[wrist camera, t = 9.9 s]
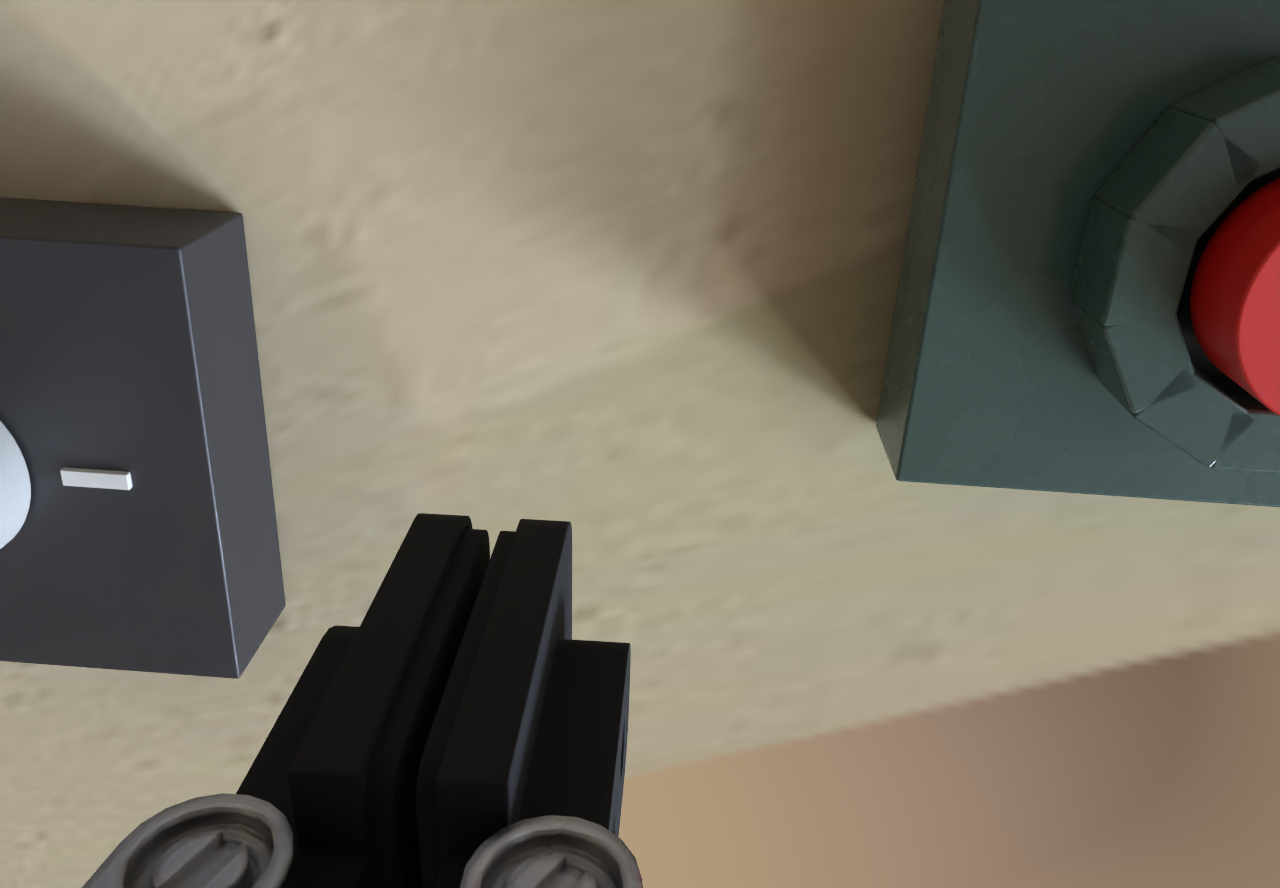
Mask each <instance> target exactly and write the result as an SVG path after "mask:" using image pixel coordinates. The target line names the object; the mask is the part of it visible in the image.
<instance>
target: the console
mask: <svg viewBox="0 0 1280 888" xmlns="http://www.w3.org/2000/svg"><path fill="white" fill-rule="evenodd" d="M1279 177H1280V0H945V3H944V9H943V16H942V22H941V28H940V34H939V40H938V47H937V53H936V59H935V65H934V71H933V77H932V84H931V90H930V96H929V102H928V108H927V115H926V121H925V127H924V133H923V139H922V146H921V152H920V158H919V164H918V170H917V177H916V183H915V189H914V195H913V201H912V207H911V214H910V220H909V226H908V232H907V238H906V245H905V251H904V257H903V263H902V269H901V276H900V282H899V288H898V294H897V300H896V306H895V313H894V319H893V325H892V331H891V337H890V344H889V350H888V356H887V362H886V368H885V375H884V381H883V387H882V393H881V399H880V406H879V412H878V418H877V424H876V427H877V430H878V433H879V435H880V438H881V441H882V443H883V446H884V449H885V451H886V454H887V457H888V459H889V462H890V464H891V467H892V470H893V472H894V475H895V478H896V480H898V481H909V482H923V483H938V484H952V485H967V486H981V487H996V488H1010V489H1025V490H1039V491H1054V492H1068V493H1083V494H1097V495H1112V496H1127V497H1141V498H1156V499H1170V500H1185V501H1199V502H1214V503H1228V504H1243V505H1257V506H1272V507H1280V416H1279V415H1277V414H1276V413H1274V412H1272V411H1271V410H1270V409H1268V408H1267V407H1266V406H1264V405H1263V404H1262V403H1261V402H1259V401H1258V400H1257V399H1256V398H1254V397H1253V396H1252V395H1251V394H1249V393H1248V392H1247V391H1246V390H1244V389H1243V388H1242V387H1240V386H1239V385H1238V384H1237V383H1235V382H1234V381H1233V380H1232V379H1230V378H1229V377H1228V376H1227V375H1225V374H1224V373H1223V372H1222V371H1220V370H1219V369H1218V368H1217V367H1216V366H1215V365H1214V364H1213V363H1212V362H1211V361H1210V360H1209V358H1208V357H1207V356H1206V355H1205V353H1204V351H1203V350H1202V348H1201V347H1200V345H1199V343H1198V340H1197V338H1196V335H1195V333H1194V329H1193V325H1192V321H1191V311H1190V297H1191V287H1192V282H1193V278H1194V273H1195V270H1196V268H1197V265H1198V262H1199V259H1200V257H1201V255H1202V253H1203V251H1204V249H1205V247H1206V245H1207V243H1208V242H1209V240H1210V238H1211V237H1212V235H1213V234H1214V232H1215V231H1216V229H1217V228H1218V227H1219V226H1220V224H1221V223H1222V222H1223V221H1224V220H1225V218H1226V217H1227V216H1228V215H1229V214H1230V213H1231V212H1232V211H1233V210H1234V209H1235V208H1236V207H1237V206H1238V205H1239V204H1240V203H1241V202H1243V201H1244V200H1245V199H1246V198H1248V197H1249V196H1250V195H1251V194H1253V193H1254V192H1255V191H1257V190H1258V189H1260V188H1261V187H1263V186H1265V185H1266V184H1268V183H1269V182H1271V181H1273V180H1275V179H1277V178H1279Z"/></svg>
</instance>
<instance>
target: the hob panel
mask: <svg viewBox="0 0 1280 888" xmlns="http://www.w3.org/2000/svg"><path fill="white" fill-rule="evenodd" d="M0 421H1V422H2V423H3V424H4V425H5V427H6V428H7V429H8V431H9V432H10V433H11V435H12V436H13V438H14V439H15V441H16V443H17V445H18V446H19V448H20V450H21V452H22V455H23V457H24V459H25V462H26V465H27V468H28V472H29V477H30V484H31V500H30V506H29V511H28V514H27V517H26V519H25V522H24V524H23V525H22V527H21V529H20V531H19V532H18V533H17V534H16V535H15V537H14V538H13V539H12V540H11V541H9V542H8V543H7V544H6V545H5V546H4V547H2V548H1V549H0V661H9V662H22V663H36V664H49V665H62V666H76V667H89V668H103V669H116V670H129V671H143V672H156V673H170V674H183V675H196V676H210V677H223V678H239V677H240V676H241V674H242V673H243V671H244V670H245V668H246V667H247V665H248V664H249V662H250V660H251V659H252V657H253V656H254V654H255V653H256V651H257V649H258V648H259V646H260V645H261V643H262V642H263V640H264V638H265V637H266V635H267V634H268V632H269V631H270V629H271V628H272V626H273V624H274V623H275V621H276V620H277V618H278V617H279V615H280V613H281V612H282V610H283V609H284V607H285V597H284V588H283V579H282V570H281V561H280V552H279V543H278V534H277V525H276V516H275V506H274V497H273V488H272V479H271V470H270V461H269V452H268V443H267V434H266V425H265V416H264V407H263V398H262V389H261V379H260V370H259V361H258V352H257V343H256V334H255V325H254V316H253V307H252V298H251V289H250V280H249V271H248V262H247V252H246V243H245V234H244V225H243V216H242V214H241V213H235V212H219V211H203V210H188V209H172V208H156V207H141V206H125V205H109V204H93V203H78V202H62V201H46V200H30V199H15V198H0Z"/></svg>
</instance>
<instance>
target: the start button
mask: <svg viewBox="0 0 1280 888" xmlns="http://www.w3.org/2000/svg"><path fill="white" fill-rule="evenodd" d="M1190 311H1191V321H1192V325H1193V329H1194V333H1195V335H1196V338H1197V340H1198V343H1199V345H1200V347H1201V348H1202V350H1203V351H1204V353H1205V355H1206V356H1207V357H1208V358H1209V360H1210V361H1211V362H1212V363H1213V364H1214V365H1215V366H1216V367H1217V368H1218V369H1219V370H1220V371H1222V372H1223V373H1224V374H1225V375H1227V376H1228V377H1229V378H1230V379H1232V380H1233V381H1234V382H1235V383H1237V384H1238V385H1239V386H1240V387H1242V388H1243V389H1244V390H1246V391H1247V392H1248V393H1249V394H1251V395H1252V396H1253V397H1254V398H1256V399H1257V400H1258V401H1259V402H1261V403H1262V404H1263V405H1264V406H1266V407H1267V408H1268V409H1270V410H1271V411H1272V412H1274V413H1276V414H1277V415H1279V416H1280V177H1279V178H1277V179H1275V180H1273V181H1271V182H1269V183H1268V184H1266V185H1265V186H1263V187H1261V188H1260V189H1258V190H1257V191H1255V192H1254V193H1253V194H1251V195H1250V196H1249V197H1248V198H1246V199H1245V200H1244V201H1243V202H1241V203H1240V204H1239V205H1238V206H1237V207H1236V208H1235V209H1234V210H1233V211H1232V212H1231V213H1230V214H1229V215H1228V216H1227V217H1226V218H1225V220H1224V221H1223V222H1222V223H1221V224H1220V226H1219V227H1218V228H1217V229H1216V231H1215V232H1214V234H1213V235H1212V237H1211V238H1210V240H1209V242H1208V243H1207V245H1206V247H1205V249H1204V251H1203V253H1202V255H1201V257H1200V259H1199V262H1198V265H1197V268H1196V270H1195V273H1194V278H1193V282H1192V287H1191V297H1190Z"/></svg>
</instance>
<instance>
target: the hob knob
mask: <svg viewBox="0 0 1280 888" xmlns="http://www.w3.org/2000/svg"><path fill="white" fill-rule="evenodd" d="M30 500H31V484H30V477H29V472H28V468H27V465H26V462H25V459H24V457H23V455H22V452H21V450H20V448H19V446H18V445H17V443H16V441H15V439H14V438H13V436H12V435H11V433H10V432H9V431H8V429H7V428H6V427H5V425H4V424H3V423H2V422H1V421H0V549H1V548H2V547H4V546H5V545H6V544H7V543H8V542H9V541H11V540H12V539H13V538H14V537H15V535H16V534H17V533H18V532H19V531H20V529H21V527H22V525H23V524H24V522H25V519H26V517H27V514H28V511H29V506H30Z"/></svg>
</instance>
